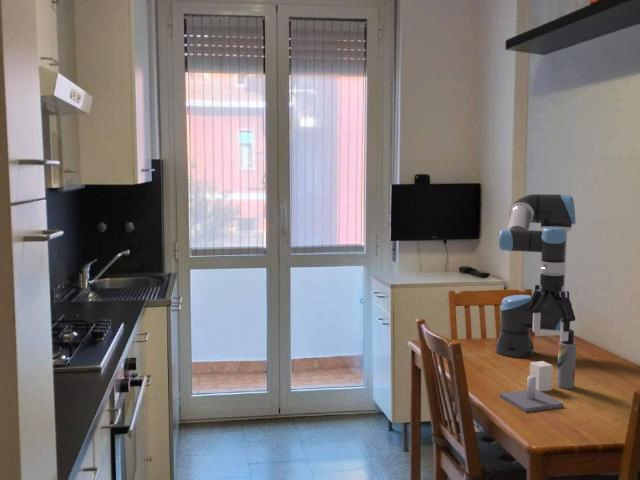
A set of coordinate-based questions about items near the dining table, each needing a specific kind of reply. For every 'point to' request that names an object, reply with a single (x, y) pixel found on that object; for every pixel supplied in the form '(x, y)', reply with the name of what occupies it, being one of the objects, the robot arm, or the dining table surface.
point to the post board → (531, 403)
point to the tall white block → (542, 375)
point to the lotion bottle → (566, 362)
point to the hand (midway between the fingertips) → (549, 336)
